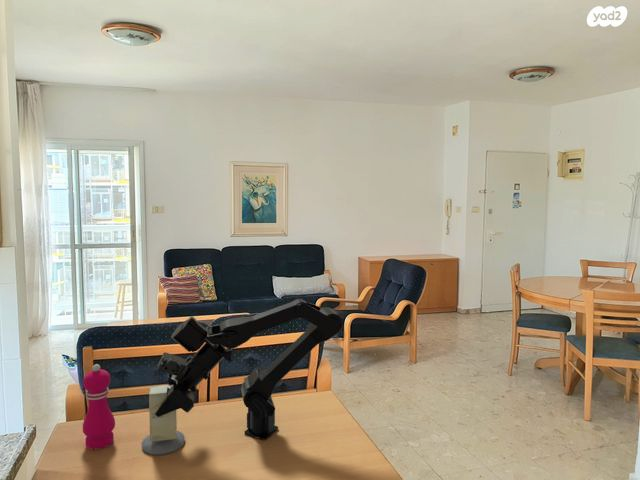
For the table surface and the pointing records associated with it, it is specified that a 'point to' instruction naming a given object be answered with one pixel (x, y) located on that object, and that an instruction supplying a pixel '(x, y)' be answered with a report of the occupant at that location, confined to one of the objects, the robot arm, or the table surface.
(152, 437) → the skincare box
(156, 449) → the charcoal coaster
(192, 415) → the table surface
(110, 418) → the pepper mill
